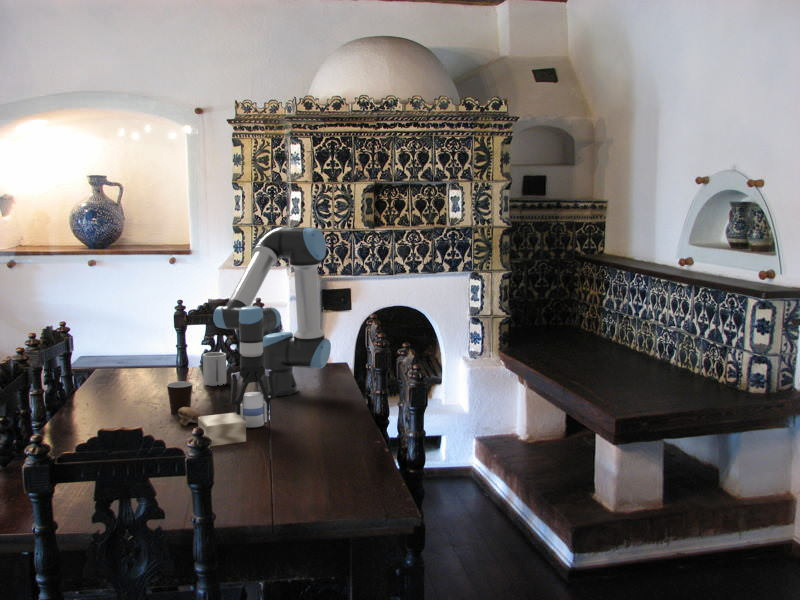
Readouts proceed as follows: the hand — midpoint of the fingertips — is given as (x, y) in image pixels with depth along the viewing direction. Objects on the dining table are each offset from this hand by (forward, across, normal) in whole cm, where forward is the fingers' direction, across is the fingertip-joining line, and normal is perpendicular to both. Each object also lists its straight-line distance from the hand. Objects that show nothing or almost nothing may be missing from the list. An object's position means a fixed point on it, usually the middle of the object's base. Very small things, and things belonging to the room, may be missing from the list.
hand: (253, 422), depth 247 cm
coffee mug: (+2, +17, -29) cm, 34 cm away
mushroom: (+2, +18, -12) cm, 22 cm away
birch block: (+1, +12, +8) cm, 15 cm away
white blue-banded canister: (+1, 0, 0) cm, 1 cm away
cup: (+2, -3, -66) cm, 66 cm away
